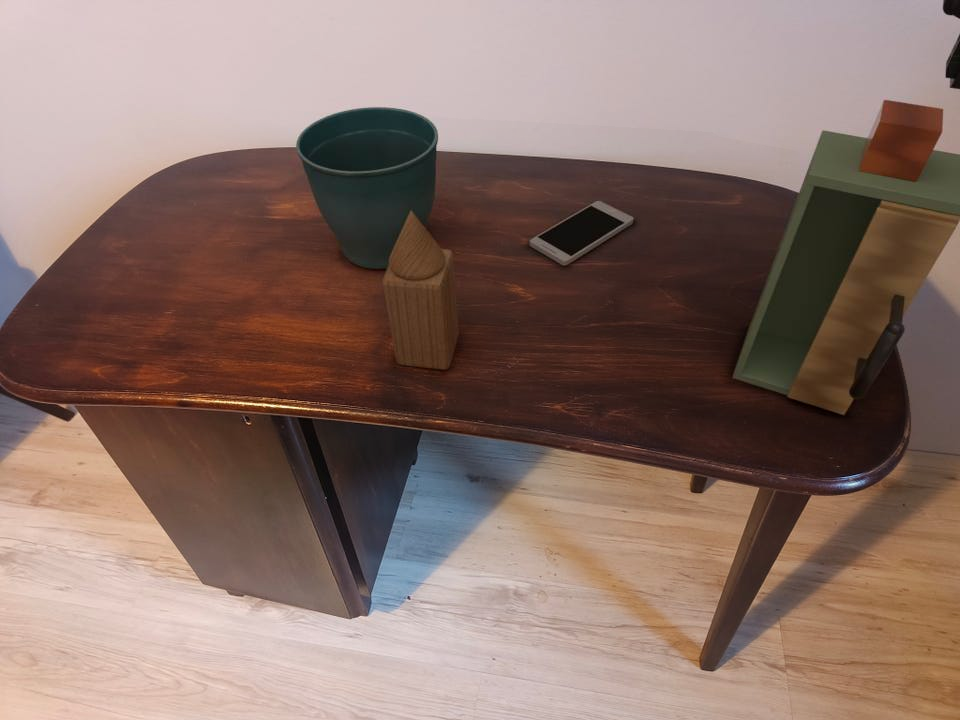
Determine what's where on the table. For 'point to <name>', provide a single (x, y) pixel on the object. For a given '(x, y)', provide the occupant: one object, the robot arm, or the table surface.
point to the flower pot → (370, 176)
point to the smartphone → (581, 232)
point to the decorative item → (421, 299)
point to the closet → (831, 249)
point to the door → (869, 308)
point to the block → (901, 140)
